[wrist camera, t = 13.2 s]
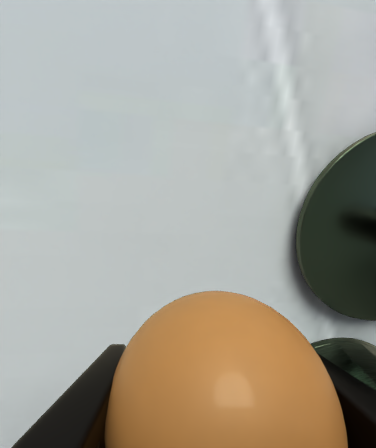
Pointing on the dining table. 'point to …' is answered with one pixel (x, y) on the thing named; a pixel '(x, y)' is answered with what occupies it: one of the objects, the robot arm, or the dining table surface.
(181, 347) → the brown egg
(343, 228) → the bin lid
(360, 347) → the bin
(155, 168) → the dining table surface
